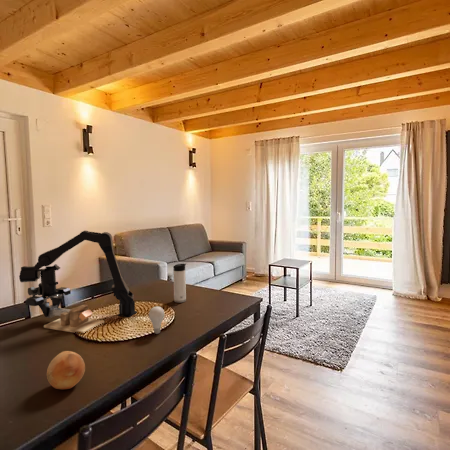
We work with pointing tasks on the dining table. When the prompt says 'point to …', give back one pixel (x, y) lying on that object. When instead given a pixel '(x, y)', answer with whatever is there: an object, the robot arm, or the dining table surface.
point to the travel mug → (179, 283)
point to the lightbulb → (156, 318)
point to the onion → (65, 370)
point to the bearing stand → (74, 321)
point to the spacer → (85, 314)
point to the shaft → (58, 311)
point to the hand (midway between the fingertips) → (50, 315)
